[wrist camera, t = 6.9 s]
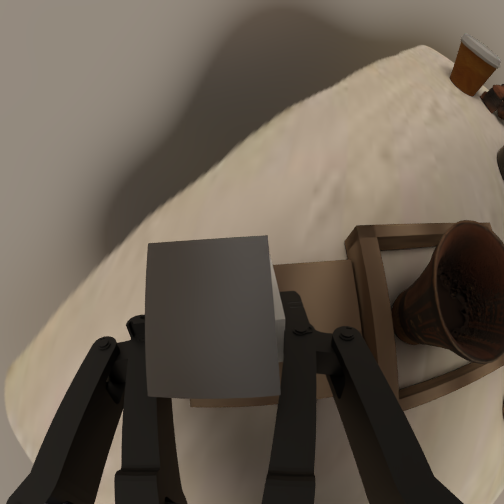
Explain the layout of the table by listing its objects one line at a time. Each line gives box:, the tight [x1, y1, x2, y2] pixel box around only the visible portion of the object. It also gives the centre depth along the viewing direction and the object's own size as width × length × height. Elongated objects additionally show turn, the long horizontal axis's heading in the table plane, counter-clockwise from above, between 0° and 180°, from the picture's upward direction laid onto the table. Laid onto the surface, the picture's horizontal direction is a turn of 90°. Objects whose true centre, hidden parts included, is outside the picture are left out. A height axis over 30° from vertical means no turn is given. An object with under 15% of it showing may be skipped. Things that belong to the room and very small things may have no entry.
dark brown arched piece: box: [480, 84, 504, 120], centre depth 31 cm, size 12×9×8 cm
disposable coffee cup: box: [450, 33, 501, 96], centre depth 29 cm, size 10×10×12 cm
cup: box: [392, 220, 504, 364], centre depth 15 cm, size 9×9×10 cm
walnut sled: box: [145, 223, 504, 411], centre depth 14 cm, size 29×14×12 cm, turn 94°
